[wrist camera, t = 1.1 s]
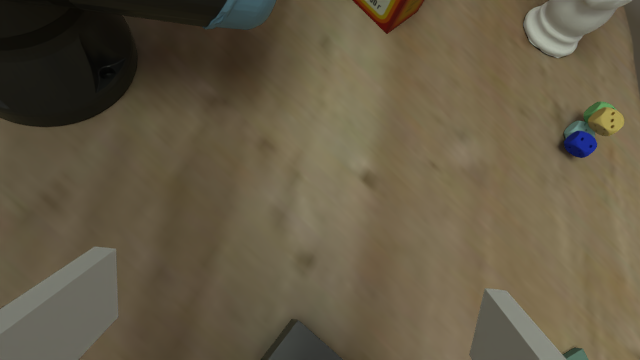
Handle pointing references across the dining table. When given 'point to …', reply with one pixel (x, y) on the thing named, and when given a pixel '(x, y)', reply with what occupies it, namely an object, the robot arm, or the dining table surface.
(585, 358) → the mat
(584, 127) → the dice
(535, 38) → the cherub figurine
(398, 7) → the baking soda box
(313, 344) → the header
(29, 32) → the robot arm
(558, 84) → the dining table surface
